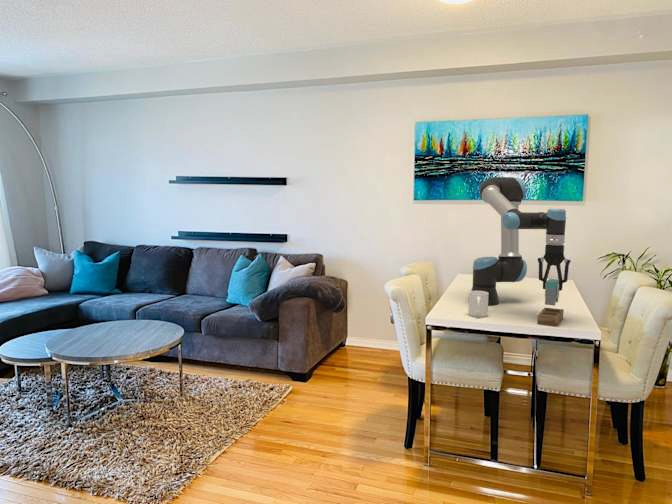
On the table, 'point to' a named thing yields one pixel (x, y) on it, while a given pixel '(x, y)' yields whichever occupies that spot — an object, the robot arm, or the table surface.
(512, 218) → the robot arm
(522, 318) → the table surface
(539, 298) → the table surface
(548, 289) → the tall teal block
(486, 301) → the mug
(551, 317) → the brown wooden frame
